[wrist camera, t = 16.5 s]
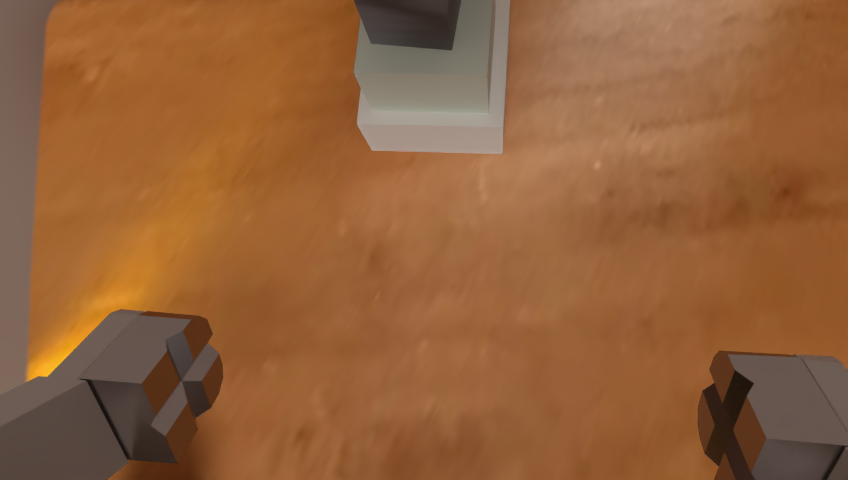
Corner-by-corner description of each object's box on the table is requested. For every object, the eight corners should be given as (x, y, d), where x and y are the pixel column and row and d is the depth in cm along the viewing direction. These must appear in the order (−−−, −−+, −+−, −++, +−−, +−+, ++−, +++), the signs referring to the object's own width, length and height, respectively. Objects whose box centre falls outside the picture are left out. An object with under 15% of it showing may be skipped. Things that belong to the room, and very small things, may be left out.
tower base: (509, 36, 43) (510, -6, 38) (502, 155, 41) (503, 126, 36) (385, 37, 44) (371, -4, 40) (372, 152, 42) (356, 124, 38)
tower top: (495, 8, 38) (495, -44, 33) (488, 113, 36) (487, 74, 32) (384, 8, 39) (368, -42, 34) (372, 110, 38) (353, 73, 33)
